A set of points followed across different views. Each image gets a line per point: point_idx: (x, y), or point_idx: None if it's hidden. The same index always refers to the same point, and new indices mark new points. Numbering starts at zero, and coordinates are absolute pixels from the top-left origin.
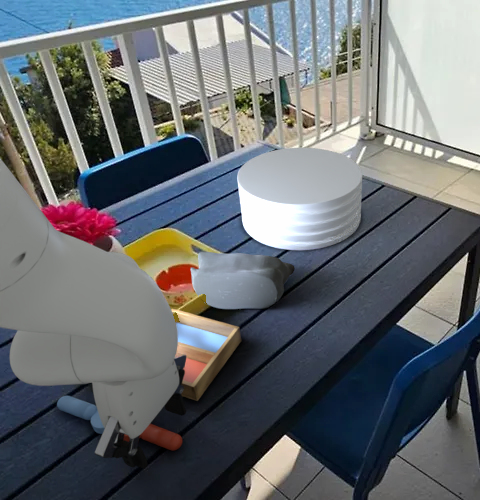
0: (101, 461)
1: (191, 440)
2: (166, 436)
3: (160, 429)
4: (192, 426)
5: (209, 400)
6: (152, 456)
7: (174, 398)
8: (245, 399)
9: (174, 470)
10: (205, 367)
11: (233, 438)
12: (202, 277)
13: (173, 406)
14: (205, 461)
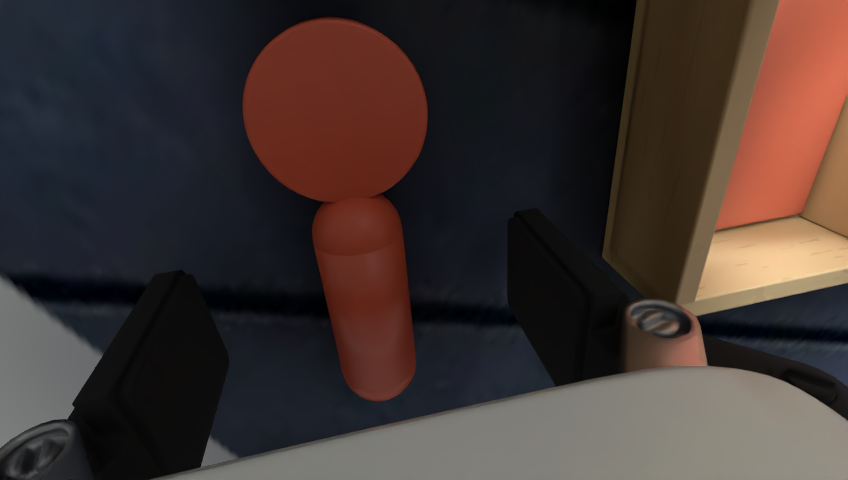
0: (74, 101)
1: (428, 359)
2: (372, 370)
3: (390, 318)
4: (483, 322)
5: None
6: (286, 298)
7: (569, 381)
8: None
9: (295, 397)
10: (804, 278)
11: None
12: None
13: (530, 303)
14: None
